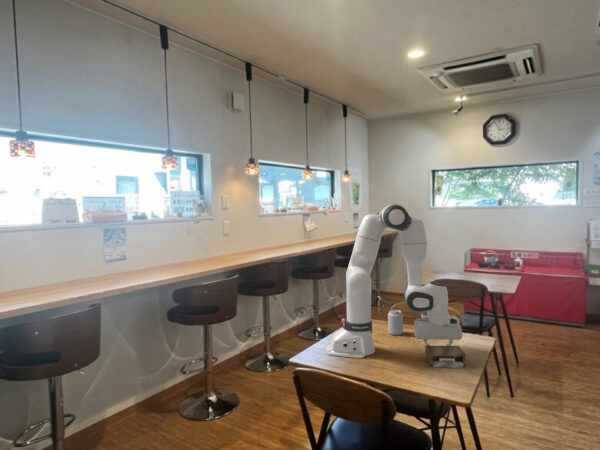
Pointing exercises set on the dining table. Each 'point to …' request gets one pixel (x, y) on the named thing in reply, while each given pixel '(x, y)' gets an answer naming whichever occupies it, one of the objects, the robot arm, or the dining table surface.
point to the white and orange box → (444, 358)
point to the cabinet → (445, 351)
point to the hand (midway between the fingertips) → (437, 348)
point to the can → (395, 322)
